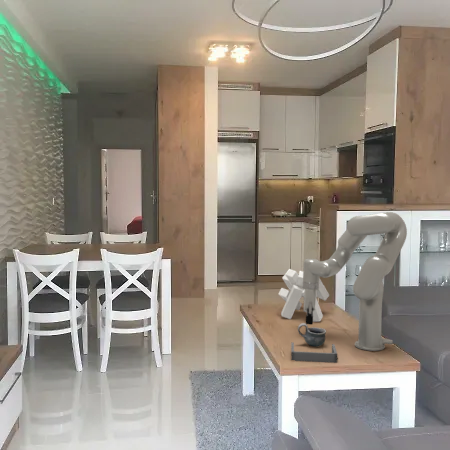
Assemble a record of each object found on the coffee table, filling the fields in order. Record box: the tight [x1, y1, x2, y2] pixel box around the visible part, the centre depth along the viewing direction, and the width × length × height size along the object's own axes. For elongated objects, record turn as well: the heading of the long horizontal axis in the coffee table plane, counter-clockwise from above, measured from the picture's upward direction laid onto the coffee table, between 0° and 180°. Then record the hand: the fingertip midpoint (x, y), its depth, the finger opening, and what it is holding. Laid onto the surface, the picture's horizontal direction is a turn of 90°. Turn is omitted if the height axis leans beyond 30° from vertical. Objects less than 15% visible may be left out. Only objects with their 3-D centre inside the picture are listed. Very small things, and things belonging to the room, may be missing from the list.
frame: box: [290, 342, 338, 364], centre depth 202 cm, size 18×13×4 cm
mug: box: [297, 322, 327, 348], centre depth 216 cm, size 10×12×10 cm
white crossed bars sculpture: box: [278, 268, 330, 323], centre depth 268 cm, size 35×30×35 cm
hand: (309, 323), depth 230 cm, fingers closed
